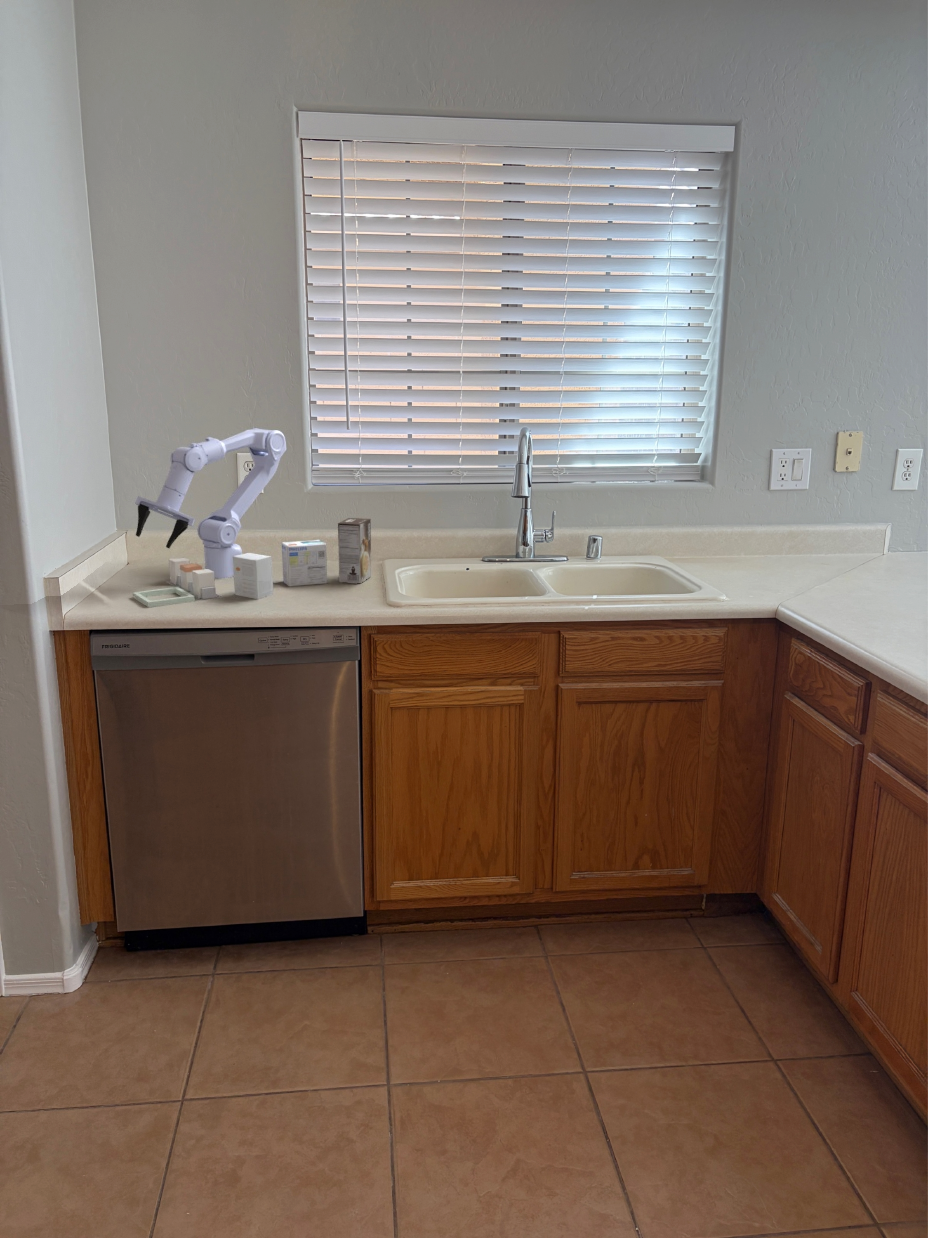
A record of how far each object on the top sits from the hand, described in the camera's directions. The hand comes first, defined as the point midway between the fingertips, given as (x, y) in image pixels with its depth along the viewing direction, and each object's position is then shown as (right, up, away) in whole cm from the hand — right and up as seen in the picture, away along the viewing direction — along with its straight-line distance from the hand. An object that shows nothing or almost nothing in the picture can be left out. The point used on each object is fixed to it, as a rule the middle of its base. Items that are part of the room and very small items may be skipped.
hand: (152, 541), depth 229 cm
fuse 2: (+14, -13, -3) cm, 19 cm away
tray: (+5, -15, -7) cm, 18 cm away
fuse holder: (+9, -12, +3) cm, 16 cm away
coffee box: (+48, -9, +20) cm, 53 cm away
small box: (+25, -14, -1) cm, 29 cm away
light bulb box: (+35, -10, +15) cm, 40 cm away
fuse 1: (+4, -10, +9) cm, 14 cm away
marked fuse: (+9, -12, +3) cm, 15 cm away
